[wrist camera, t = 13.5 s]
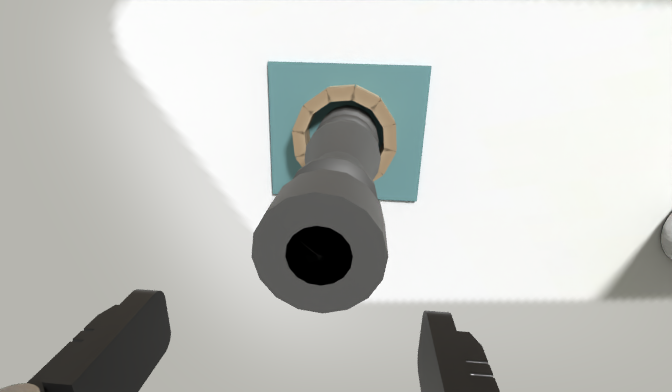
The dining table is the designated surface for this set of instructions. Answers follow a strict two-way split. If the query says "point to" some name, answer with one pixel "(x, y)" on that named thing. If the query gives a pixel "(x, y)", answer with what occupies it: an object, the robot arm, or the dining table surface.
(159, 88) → the dining table surface
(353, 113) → the candle holder
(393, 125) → the segmented wooden ring
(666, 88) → the dining table surface
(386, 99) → the runner mat
